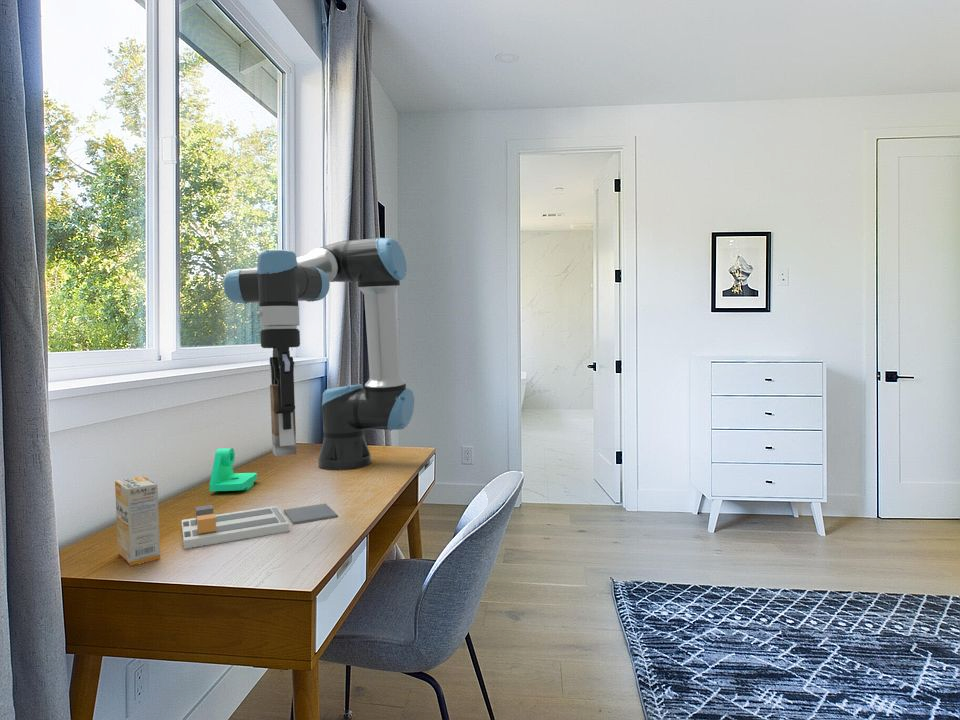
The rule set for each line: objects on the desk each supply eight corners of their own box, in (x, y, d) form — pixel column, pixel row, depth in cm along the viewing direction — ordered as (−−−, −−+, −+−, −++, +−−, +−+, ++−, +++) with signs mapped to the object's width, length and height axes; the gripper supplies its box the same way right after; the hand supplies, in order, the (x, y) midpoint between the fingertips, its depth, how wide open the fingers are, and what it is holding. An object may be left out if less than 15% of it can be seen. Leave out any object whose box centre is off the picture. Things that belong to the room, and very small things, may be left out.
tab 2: (214, 526, 111) (214, 513, 111) (216, 531, 108) (215, 517, 108) (197, 529, 109) (196, 516, 109) (198, 533, 107) (197, 520, 107)
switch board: (276, 512, 125) (276, 505, 125) (289, 531, 113) (288, 522, 112) (181, 527, 116) (181, 519, 116) (184, 548, 104) (183, 540, 104)
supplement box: (116, 554, 102) (113, 480, 101) (147, 547, 105) (144, 475, 105) (129, 567, 96) (125, 488, 95) (161, 559, 99) (158, 482, 99)
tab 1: (212, 517, 117) (212, 504, 117) (213, 520, 114) (213, 508, 114) (195, 519, 116) (195, 507, 116) (196, 523, 113) (196, 510, 113)
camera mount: (242, 494, 141) (240, 452, 141) (209, 495, 141) (208, 453, 141) (258, 482, 153) (256, 443, 153) (228, 483, 153) (226, 444, 152)
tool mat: (325, 505, 130) (325, 503, 130) (337, 516, 121) (337, 514, 121) (283, 511, 126) (283, 509, 126) (292, 524, 117) (292, 522, 117)
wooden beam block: (292, 450, 122) (290, 383, 121) (296, 454, 118) (293, 384, 117) (272, 452, 120) (269, 384, 119) (275, 456, 116) (273, 386, 115)
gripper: (254, 329, 123) (259, 438, 125) (266, 327, 108) (272, 452, 110) (291, 328, 127) (295, 435, 128) (307, 327, 112) (312, 448, 113)
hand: (284, 443), depth 119 cm, fingers closed on wooden beam block, 4 cm apart
